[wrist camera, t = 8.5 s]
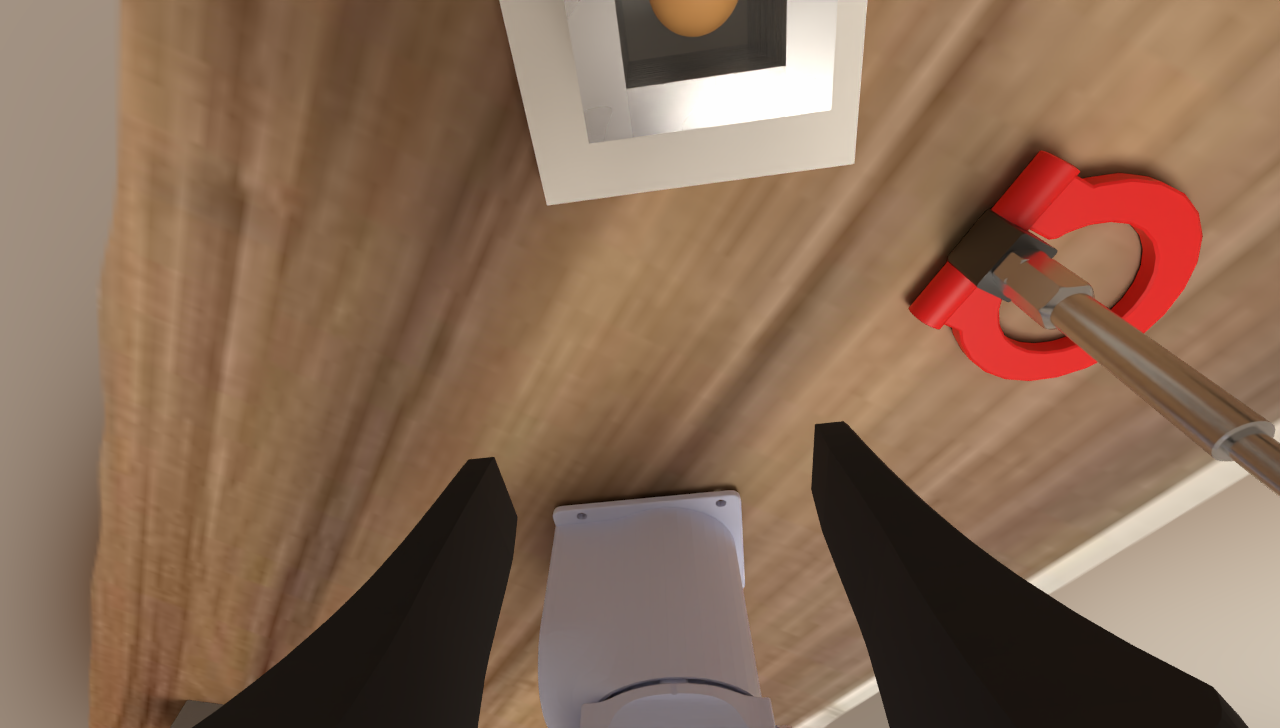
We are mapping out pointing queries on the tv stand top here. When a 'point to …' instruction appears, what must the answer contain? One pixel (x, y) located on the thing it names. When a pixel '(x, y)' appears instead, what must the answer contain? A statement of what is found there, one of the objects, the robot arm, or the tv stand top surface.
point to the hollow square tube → (703, 71)
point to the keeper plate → (661, 26)
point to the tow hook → (1092, 302)
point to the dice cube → (194, 713)
